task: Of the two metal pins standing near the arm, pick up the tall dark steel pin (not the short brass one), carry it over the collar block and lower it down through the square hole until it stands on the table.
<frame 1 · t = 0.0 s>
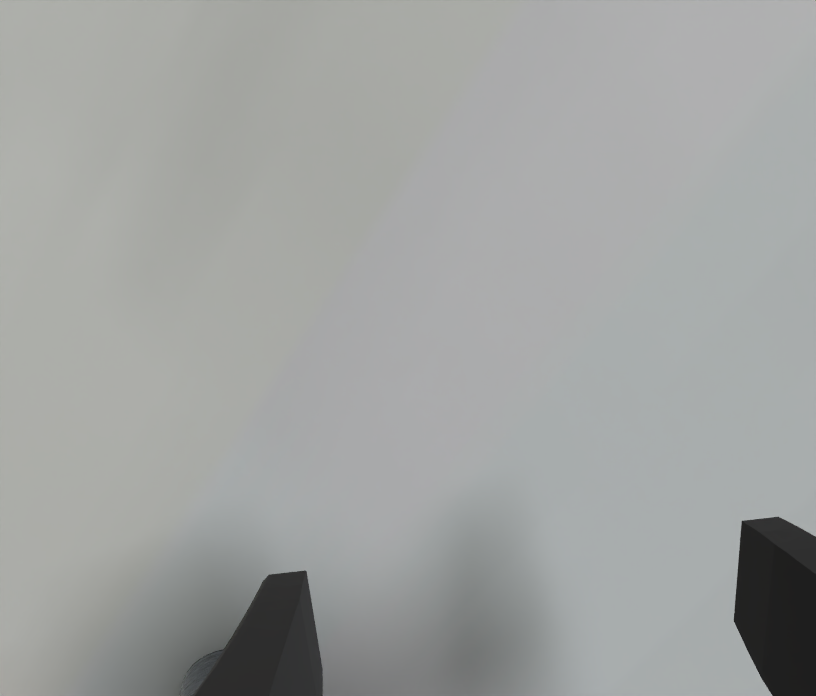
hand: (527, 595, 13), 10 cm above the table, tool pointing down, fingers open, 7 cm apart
steel pin long: (237, 691, 26), on the table
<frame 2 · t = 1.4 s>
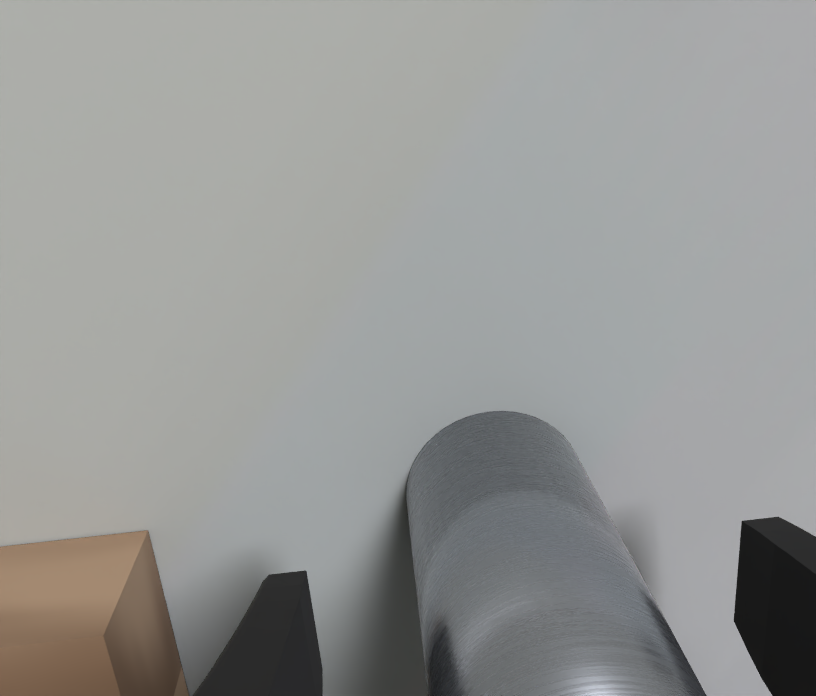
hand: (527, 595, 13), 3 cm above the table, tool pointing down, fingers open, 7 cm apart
steel pin long: (494, 491, 16), on the table
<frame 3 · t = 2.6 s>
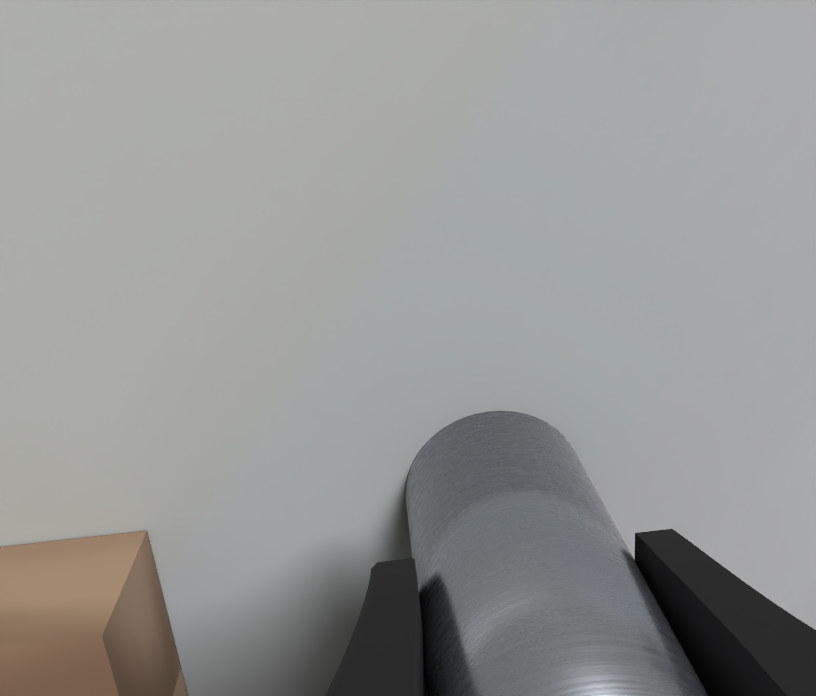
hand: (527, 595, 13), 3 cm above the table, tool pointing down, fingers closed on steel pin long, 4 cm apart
steel pin long: (494, 491, 16), on the table, touching gripper
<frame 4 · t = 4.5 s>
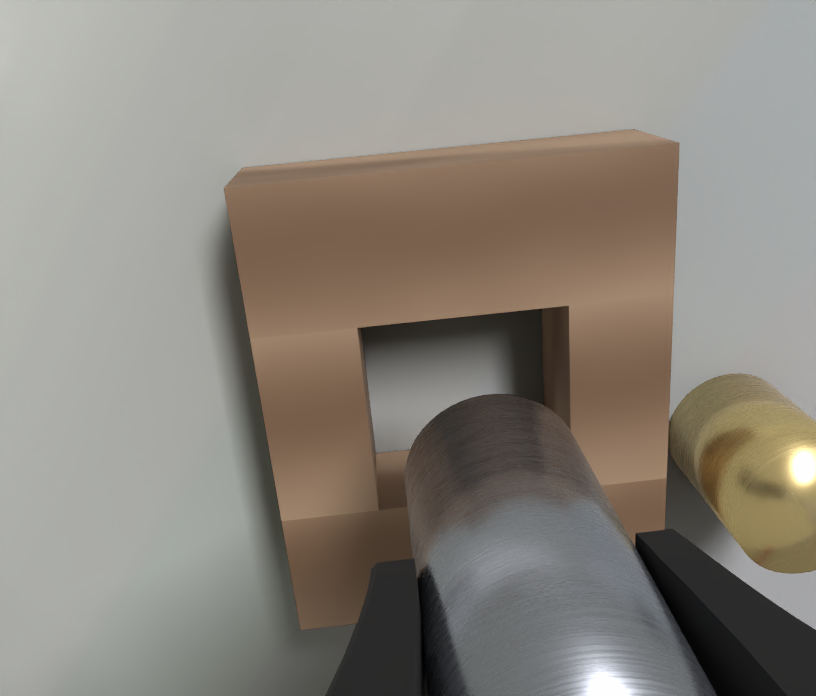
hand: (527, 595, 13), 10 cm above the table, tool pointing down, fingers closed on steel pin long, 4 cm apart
steel pin long: (493, 474, 16), point 6 cm above the table, touching gripper
collar block: (455, 365, 22), on the table
brass pin short: (726, 429, 23), on the table
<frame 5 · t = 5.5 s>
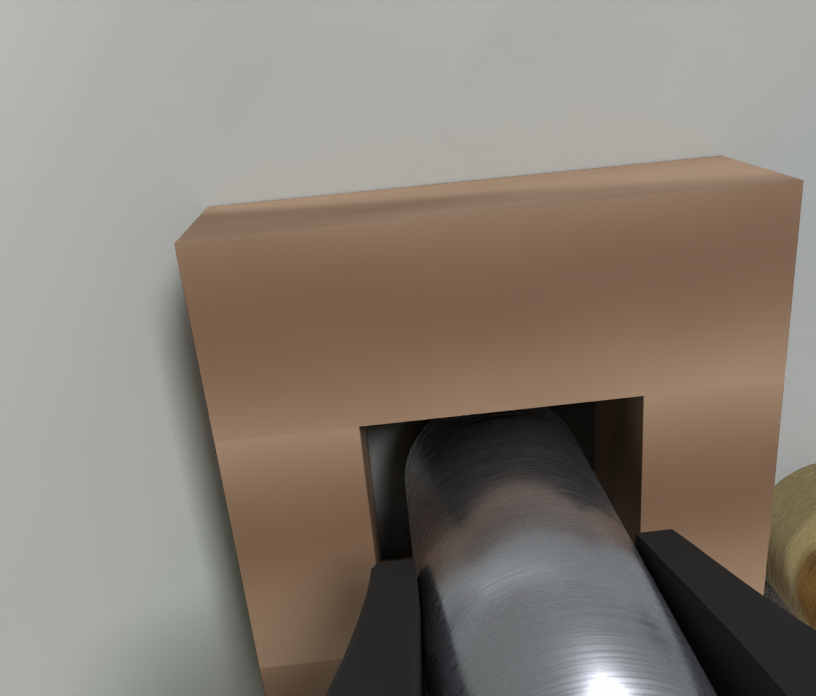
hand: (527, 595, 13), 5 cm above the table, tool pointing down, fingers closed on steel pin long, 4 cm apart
steel pin long: (493, 474, 16), point 1 cm above the table, touching gripper
collar block: (483, 453, 17), on the table
when the fingers open (4 cm above the table, at t = 6.5 s): steel pin long stays where it is, resting in collar block.
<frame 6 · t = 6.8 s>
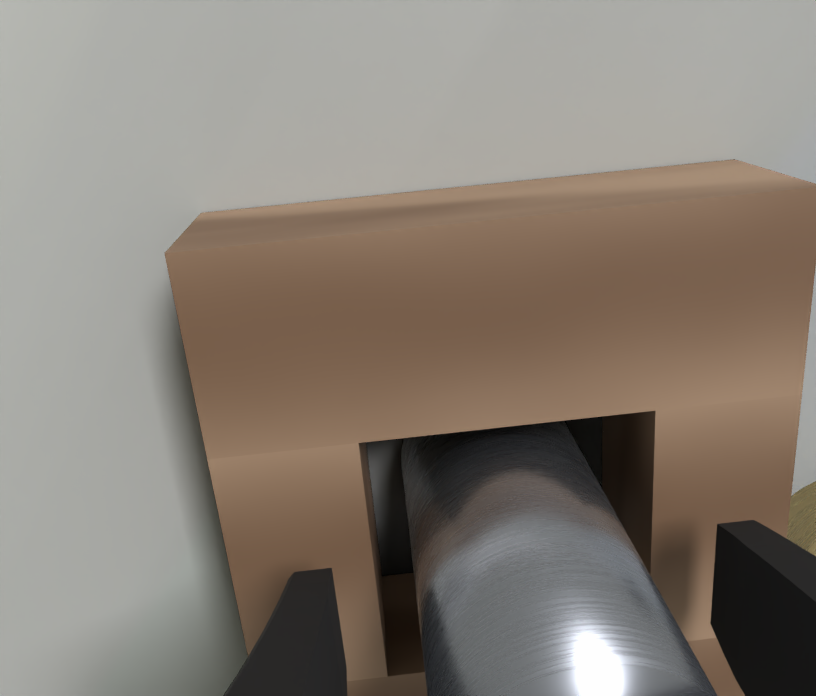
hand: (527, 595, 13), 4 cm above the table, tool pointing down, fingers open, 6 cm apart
steel pin long: (485, 455, 17), resting in collar block
collar block: (486, 467, 17), on the table
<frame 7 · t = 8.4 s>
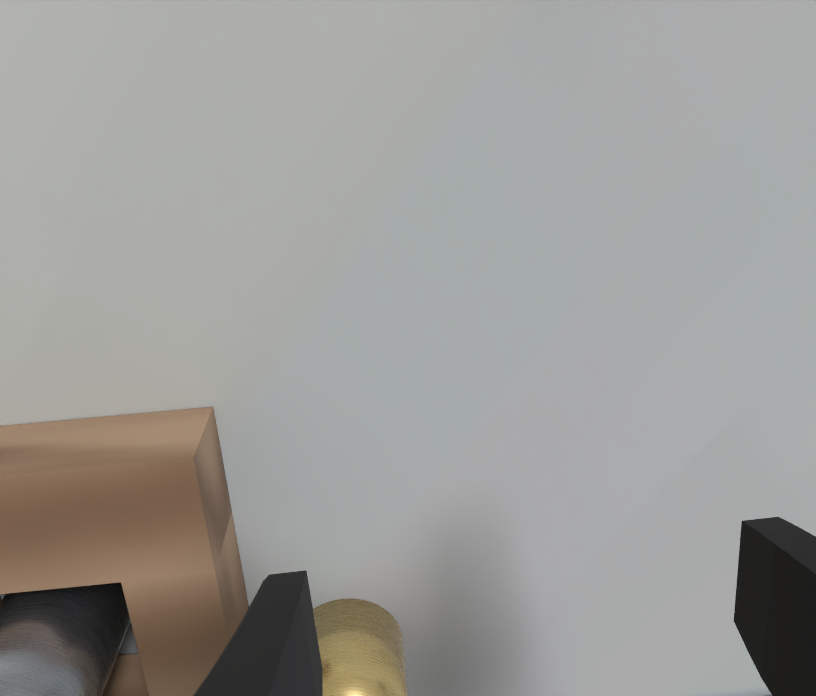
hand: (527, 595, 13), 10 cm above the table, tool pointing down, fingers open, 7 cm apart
steel pin long: (81, 586, 24), resting in collar block
collar block: (83, 594, 24), on the table
brass pin short: (348, 643, 26), on the table
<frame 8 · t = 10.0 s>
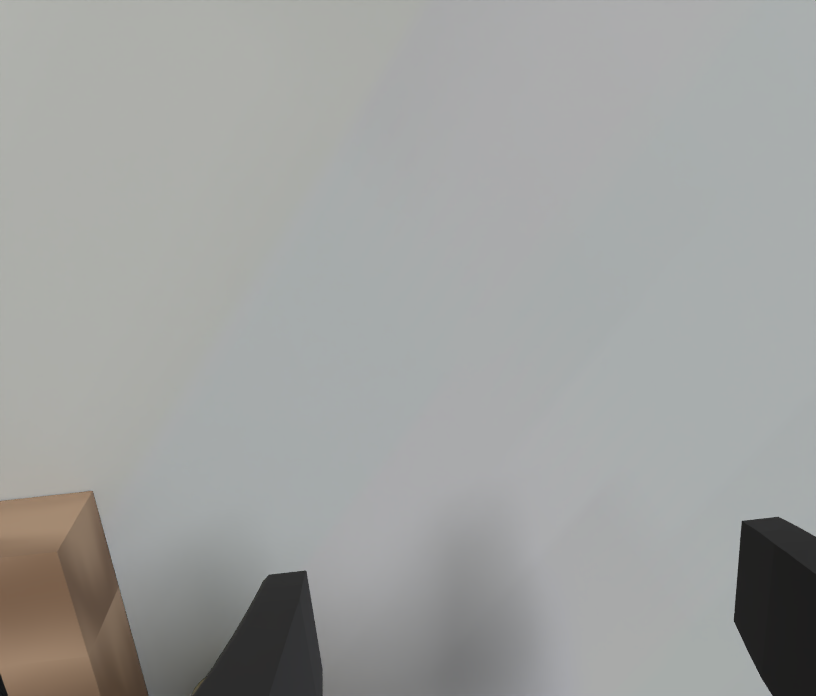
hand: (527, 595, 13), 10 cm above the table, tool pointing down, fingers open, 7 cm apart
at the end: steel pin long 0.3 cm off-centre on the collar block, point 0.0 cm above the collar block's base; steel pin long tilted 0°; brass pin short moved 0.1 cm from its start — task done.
